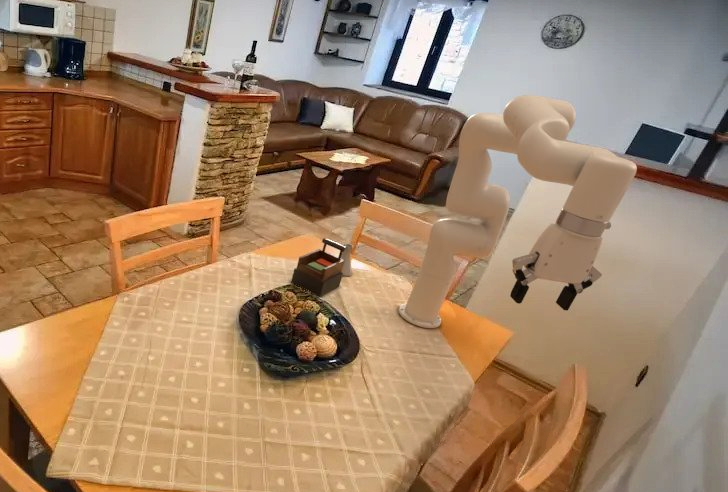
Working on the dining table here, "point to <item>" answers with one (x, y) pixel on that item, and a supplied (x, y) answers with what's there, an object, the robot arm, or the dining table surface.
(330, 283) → the stand
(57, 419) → the dining table surface
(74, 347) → the dining table surface
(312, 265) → the block
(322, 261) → the terracotta packet
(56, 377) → the dining table surface
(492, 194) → the robot arm
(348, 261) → the flask
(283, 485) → the dining table surface
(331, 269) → the basket
